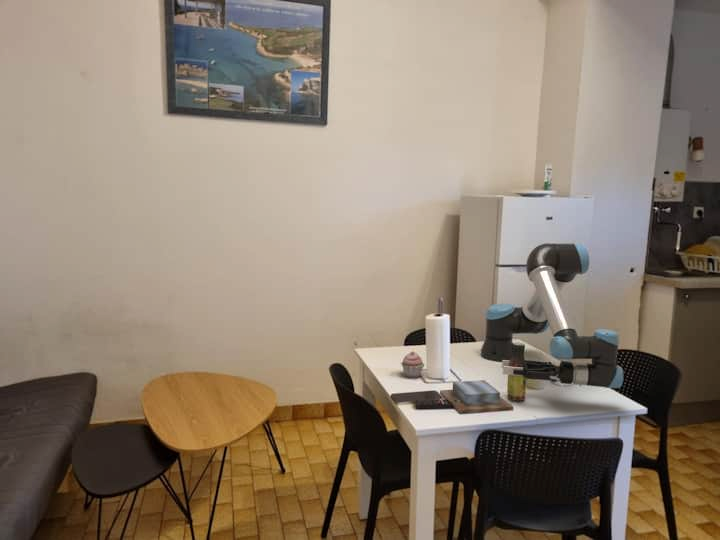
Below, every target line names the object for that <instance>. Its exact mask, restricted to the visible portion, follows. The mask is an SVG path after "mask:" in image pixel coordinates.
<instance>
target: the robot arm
mask: <svg viewBox="0 0 720 540" xmlns="http://www.w3.org/2000/svg"><path fill="white" fill-rule="evenodd" d="M525 268H526V274H527V277H528V279H529V281H530V282H532V283H533V285H534V288H535V291H534V292H533V294H532V296H531V298H530V299H528V300H526V301H524V302H523V303H522V305H521V307H515V305H513V304H512V303H495V304H492V305H490V306H489V307H488V308H487V310H486V315H485V318H486V319H485V321H486V323H485V338H484V341H483V343H482V345H481V349H480V356H481V358H484V359H486V360H489V361H493V362H495V361H496V362H501V368H502V374H503V375H507V376H508V375H518V376H524V377H525V378H526V380H537V381H538V380H539V381H542V380H543V381H550V382H551V381H556V379H559V380H560V382H561V383H564V384H571V383H572V385H578V386H579V387H582V386H590V387H597V388H598V387H599V388H605V389H607V388H609V389H618V388H621V387H622V385H623V382H624V370H623V368H622V366H620V365H617V358H618V349H619V343H620V342H619V341H620V340H619V334H618V332H616V331H615V330H611V329H608V328H607V329H606V328H597V329H595V330H594V331H593V336H592V335H588V336H587V335H586V336H583V335H578V333H577V331H576V328H575V325H574V323H573V321H572V318H571V316H570V313H569V310H568V308H567V306H566V302H565V300H564V298H563V296H562V293H561V291H562V290H563V288H564V287H565V286H566V285H567V283H570V282H572V281H573V280H575V278H576V276H577V275H583V274H586V273H588V270H589V269H590V256H589V251H588V249H587V248H586V246H585V245H584V244H582V243H581V244H580V243H574V242H573V243H548V242H547V243H546V242H545V243H542V244H540V245H537V246H536V247H534V248H533V249H532V250H531V252H530V253H529V254H528V257H527V259H526V264H525ZM548 329H550V331H551V333H552V336H553V337H551V339H550V341H549V351H550V354H551V356H552V357H553V358H555V359H556V360H559V359H565V360H569V361H560V362H559V365H555V364H553V362H551V361H539V360H529V359H525V361H526V364H527V369H526V367H524V368H521V367H510V366H509V361H510V359H511V358H512V357H513V343H514V342H513V336H514V335H515V334H517V335H518V334H519V335H520V334H521V335H522V334H527V335H528V334H529V335H530V334H531V335H532V334H534V335H536V334H537V335H538V334H543V333H545V332H546V331H547V330H548ZM581 359H583V360H591V363H589V362H580V361H574V362H572V361H571V360H581Z"/></svg>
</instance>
